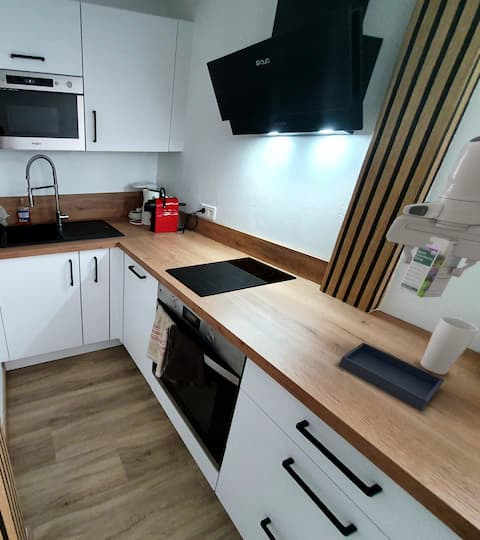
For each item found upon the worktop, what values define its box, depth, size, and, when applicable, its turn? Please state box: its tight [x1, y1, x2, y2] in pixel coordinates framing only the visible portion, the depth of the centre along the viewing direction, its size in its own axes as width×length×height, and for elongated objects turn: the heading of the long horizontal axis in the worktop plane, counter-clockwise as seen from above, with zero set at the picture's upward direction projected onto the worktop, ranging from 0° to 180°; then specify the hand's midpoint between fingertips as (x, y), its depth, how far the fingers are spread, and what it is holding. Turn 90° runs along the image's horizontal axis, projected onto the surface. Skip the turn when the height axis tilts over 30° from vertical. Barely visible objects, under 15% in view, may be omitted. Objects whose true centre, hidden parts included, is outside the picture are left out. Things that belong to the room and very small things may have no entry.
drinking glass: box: [420, 316, 479, 375], centre depth 76 cm, size 7×7×15 cm
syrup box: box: [398, 236, 463, 298], centre depth 69 cm, size 6×6×14 cm
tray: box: [338, 341, 445, 412], centre depth 75 cm, size 17×13×3 cm
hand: (430, 269), depth 69 cm, fingers closed on syrup box, 7 cm apart
